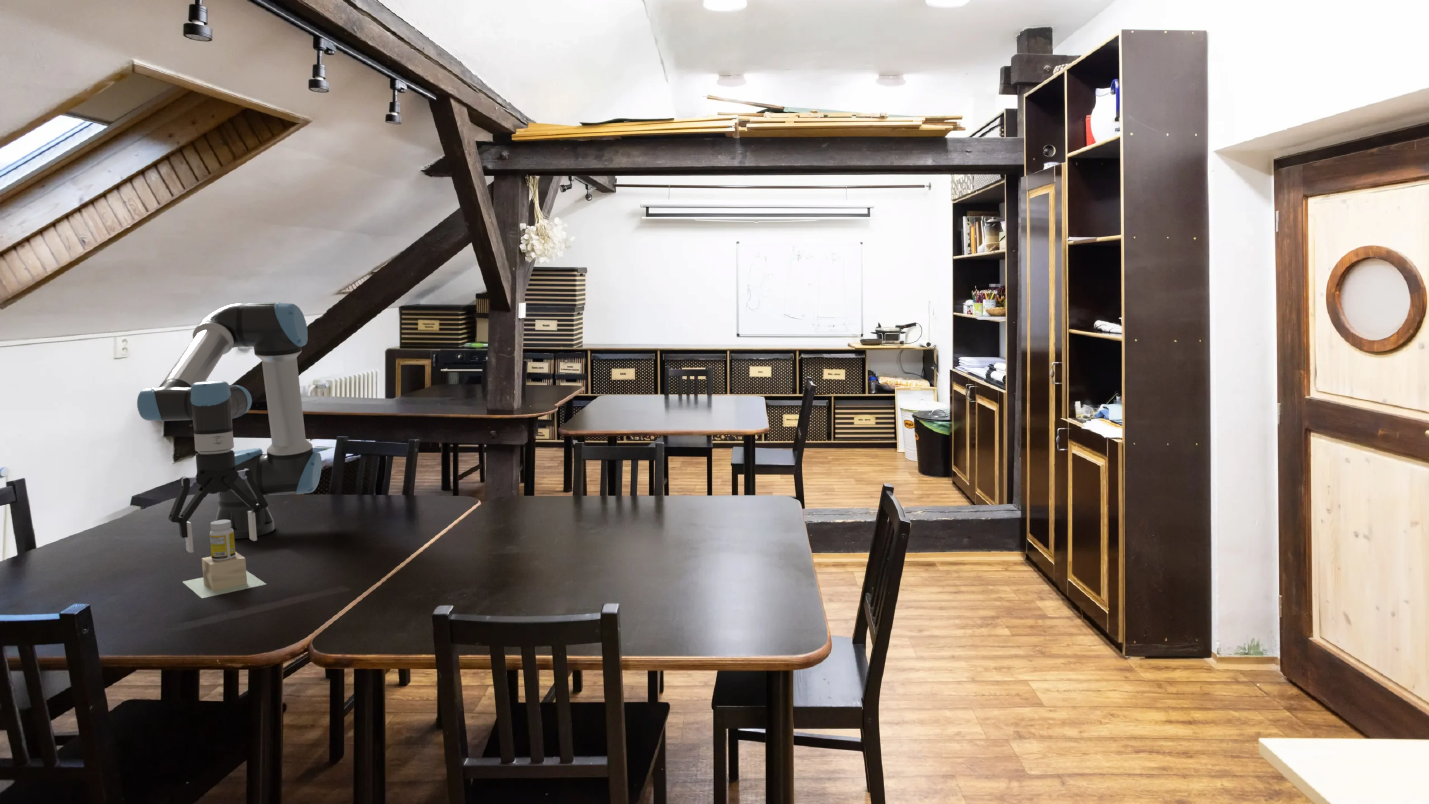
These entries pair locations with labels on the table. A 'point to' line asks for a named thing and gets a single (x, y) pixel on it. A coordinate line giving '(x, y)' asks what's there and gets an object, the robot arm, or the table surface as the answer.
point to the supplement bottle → (222, 540)
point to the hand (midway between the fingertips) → (222, 545)
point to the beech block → (224, 572)
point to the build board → (204, 591)
